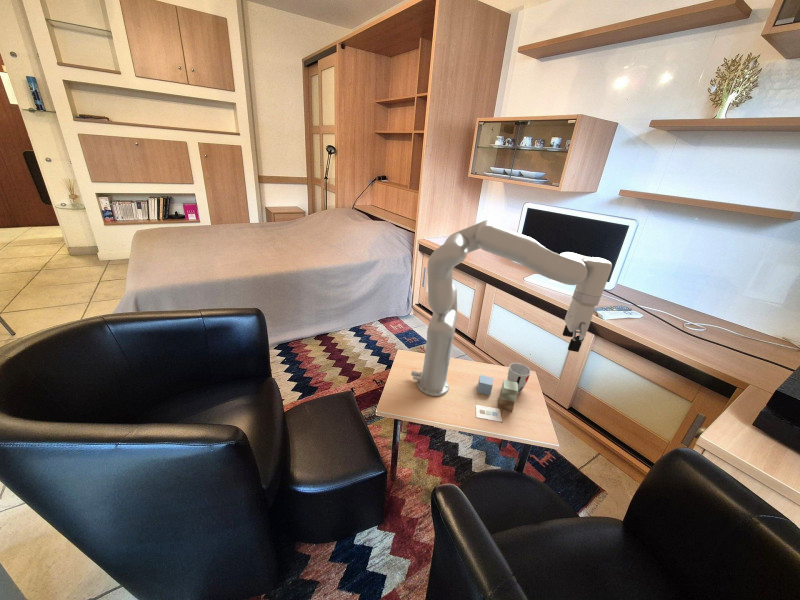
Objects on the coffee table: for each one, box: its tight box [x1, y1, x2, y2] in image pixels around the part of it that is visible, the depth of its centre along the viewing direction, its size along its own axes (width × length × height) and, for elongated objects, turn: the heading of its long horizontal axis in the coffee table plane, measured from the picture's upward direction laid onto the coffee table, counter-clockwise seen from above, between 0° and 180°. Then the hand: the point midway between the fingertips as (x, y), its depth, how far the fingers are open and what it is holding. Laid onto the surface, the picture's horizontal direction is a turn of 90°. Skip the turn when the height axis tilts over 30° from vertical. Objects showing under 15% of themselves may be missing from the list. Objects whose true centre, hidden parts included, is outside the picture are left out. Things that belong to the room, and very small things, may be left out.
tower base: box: [497, 379, 519, 413], centre depth 122 cm, size 5×5×10 cm
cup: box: [507, 362, 532, 394], centre depth 132 cm, size 8×8×10 cm
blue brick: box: [476, 374, 494, 396], centre depth 131 cm, size 5×5×5 cm
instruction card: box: [475, 404, 503, 423], centre depth 120 cm, size 9×6×1 cm
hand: (569, 343), depth 111 cm, fingers open, 9 cm apart
